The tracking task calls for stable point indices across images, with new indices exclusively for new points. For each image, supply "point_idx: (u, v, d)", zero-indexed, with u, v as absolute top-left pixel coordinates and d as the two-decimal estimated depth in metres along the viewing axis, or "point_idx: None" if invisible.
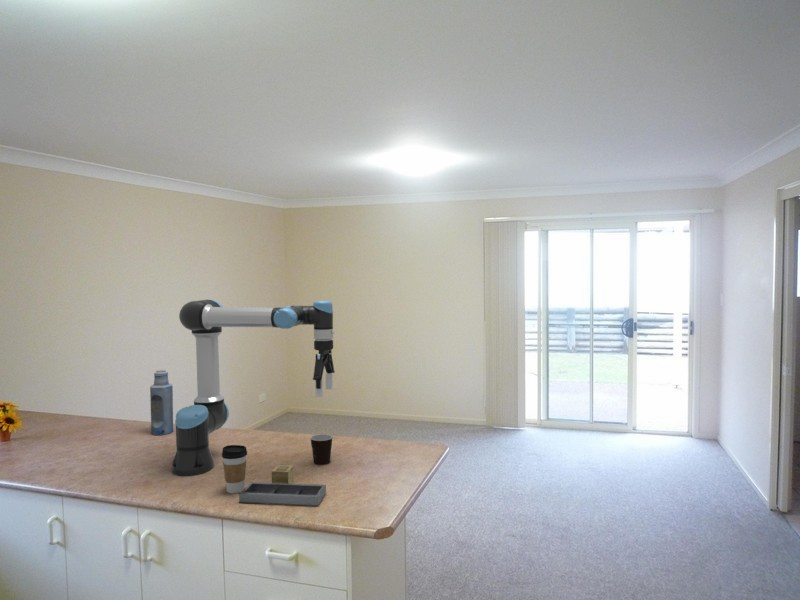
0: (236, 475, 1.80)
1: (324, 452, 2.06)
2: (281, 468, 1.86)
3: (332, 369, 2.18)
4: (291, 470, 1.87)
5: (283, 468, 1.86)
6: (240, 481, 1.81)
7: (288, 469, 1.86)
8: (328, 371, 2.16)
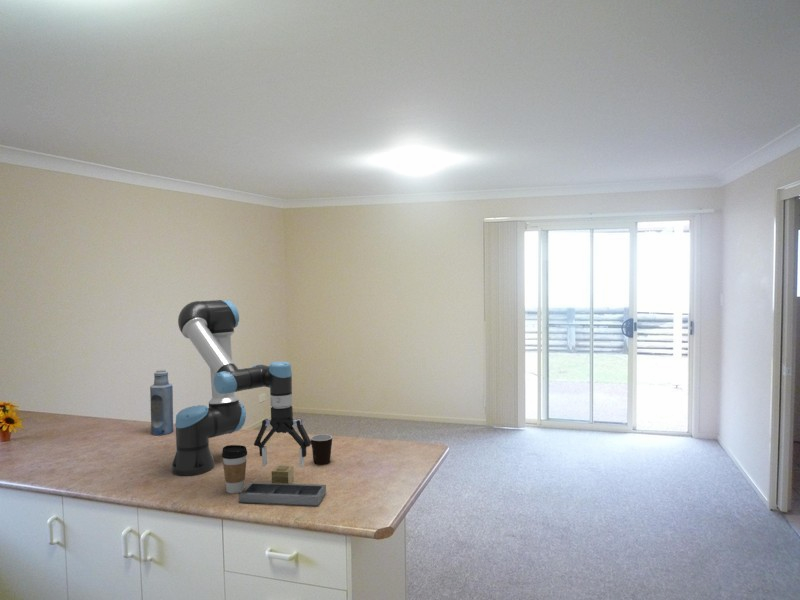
0: (236, 475, 1.80)
1: (324, 452, 2.06)
2: (281, 468, 1.86)
3: (306, 444, 1.84)
4: (291, 470, 1.87)
5: (283, 468, 1.86)
6: (240, 481, 1.81)
7: (288, 469, 1.86)
8: None
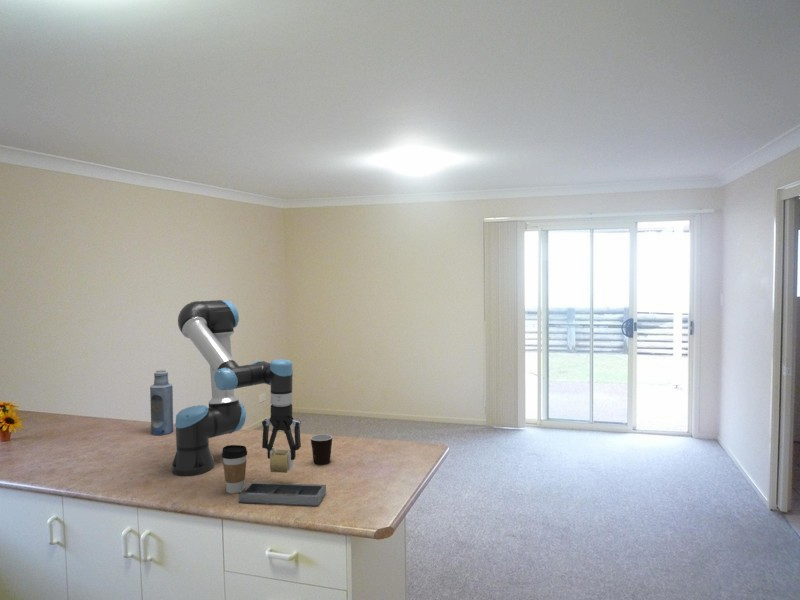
0: (236, 475, 1.80)
1: (324, 452, 2.06)
2: (280, 452, 1.86)
3: None
4: None
5: (282, 452, 1.86)
6: (240, 481, 1.81)
7: (287, 453, 1.86)
8: None
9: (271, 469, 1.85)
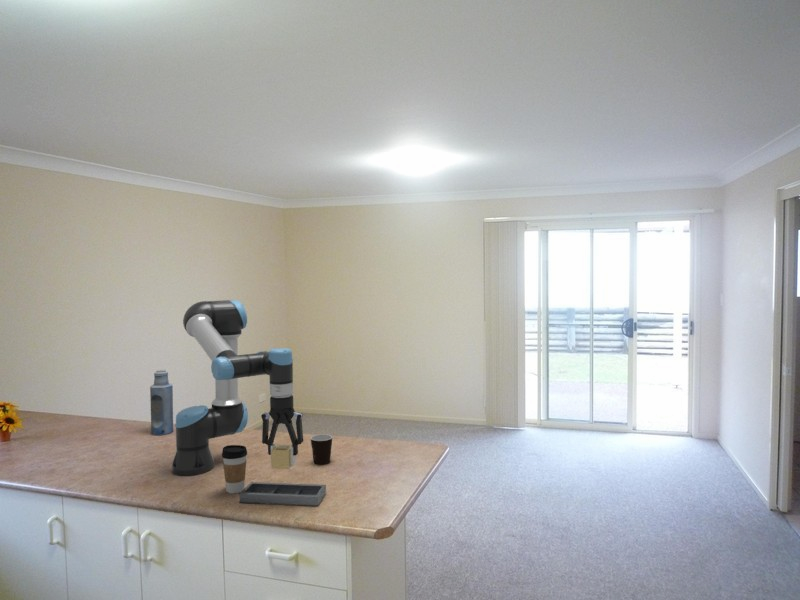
0: (236, 475, 1.80)
1: (324, 452, 2.06)
2: (281, 447, 1.74)
3: (297, 441, 1.73)
4: None
5: (283, 447, 1.74)
6: (240, 481, 1.81)
7: (289, 448, 1.74)
8: None
9: (272, 465, 1.72)
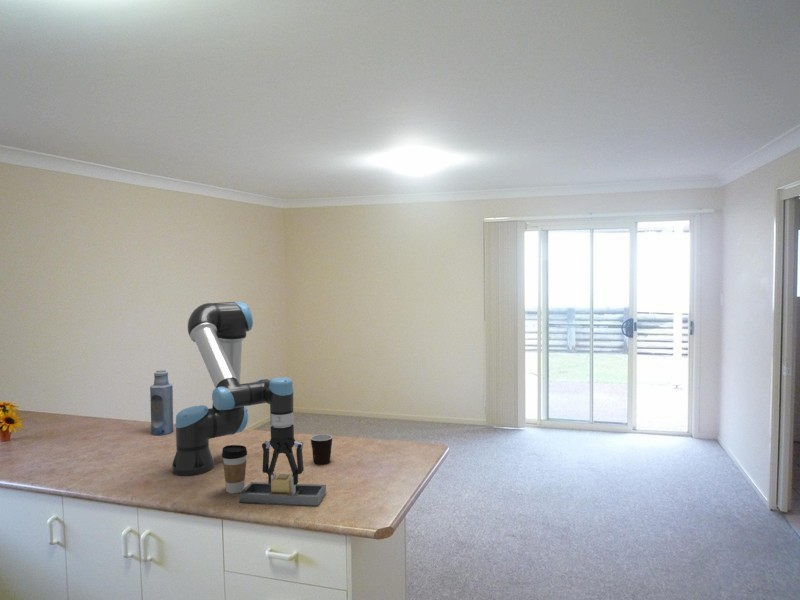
0: (236, 475, 1.80)
1: (324, 452, 2.06)
2: (281, 477, 1.75)
3: (298, 471, 1.74)
4: None
5: (284, 477, 1.75)
6: (240, 481, 1.81)
7: (289, 477, 1.75)
8: None
9: None
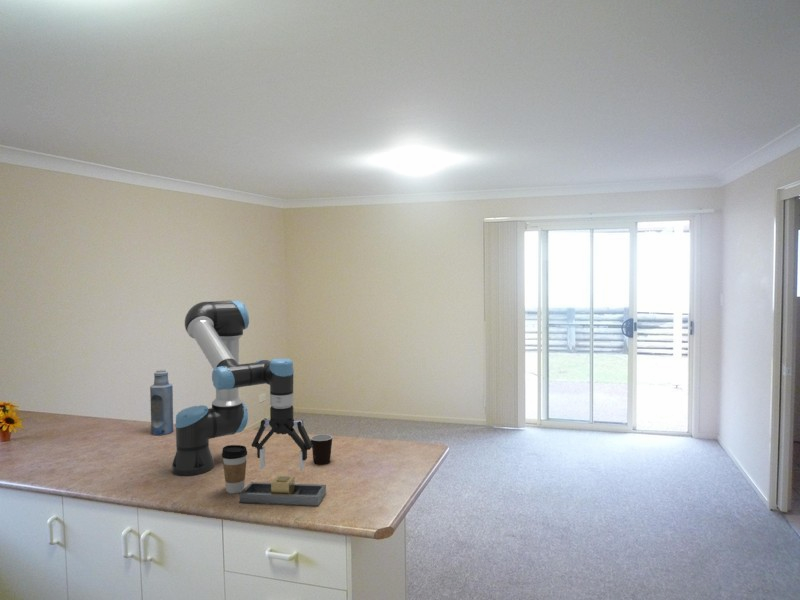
0: (236, 475, 1.80)
1: (324, 452, 2.06)
2: (281, 479, 1.75)
3: (307, 447, 1.73)
4: (292, 481, 1.76)
5: (283, 479, 1.75)
6: (240, 481, 1.81)
7: (289, 480, 1.75)
8: None
9: None
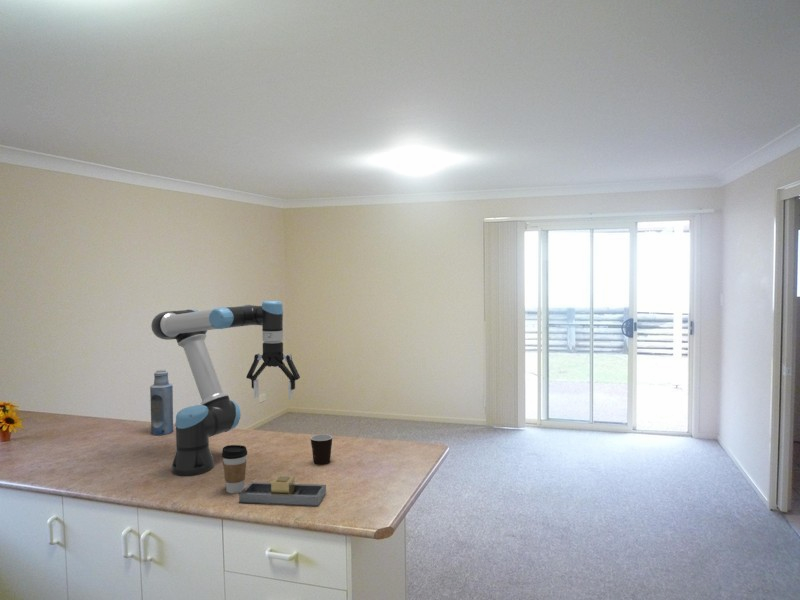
0: (236, 475, 1.80)
1: (324, 452, 2.06)
2: (281, 479, 1.75)
3: (295, 378, 1.97)
4: (292, 481, 1.76)
5: (283, 479, 1.75)
6: (240, 481, 1.81)
7: (289, 480, 1.75)
8: None
9: None
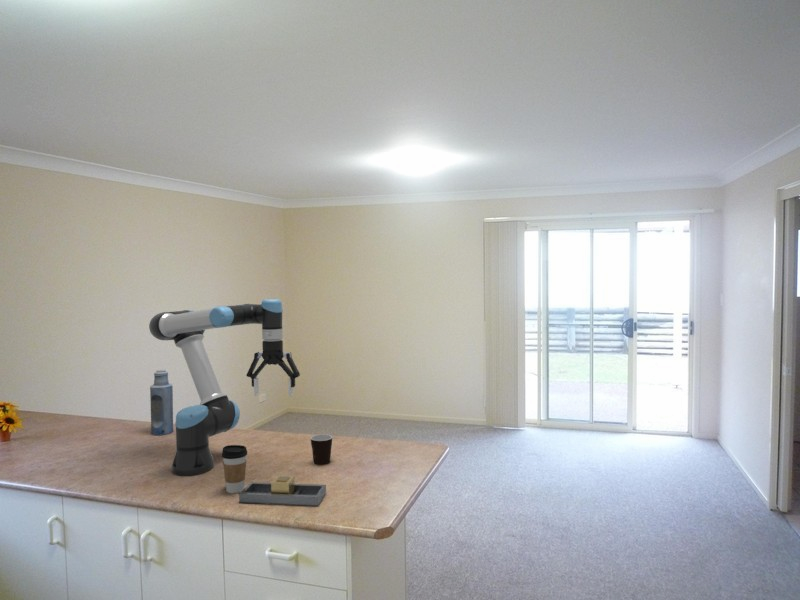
0: (236, 475, 1.80)
1: (324, 452, 2.06)
2: (281, 479, 1.75)
3: (295, 375, 1.99)
4: (292, 481, 1.76)
5: (283, 479, 1.75)
6: (240, 481, 1.81)
7: (289, 480, 1.75)
8: None
9: None
